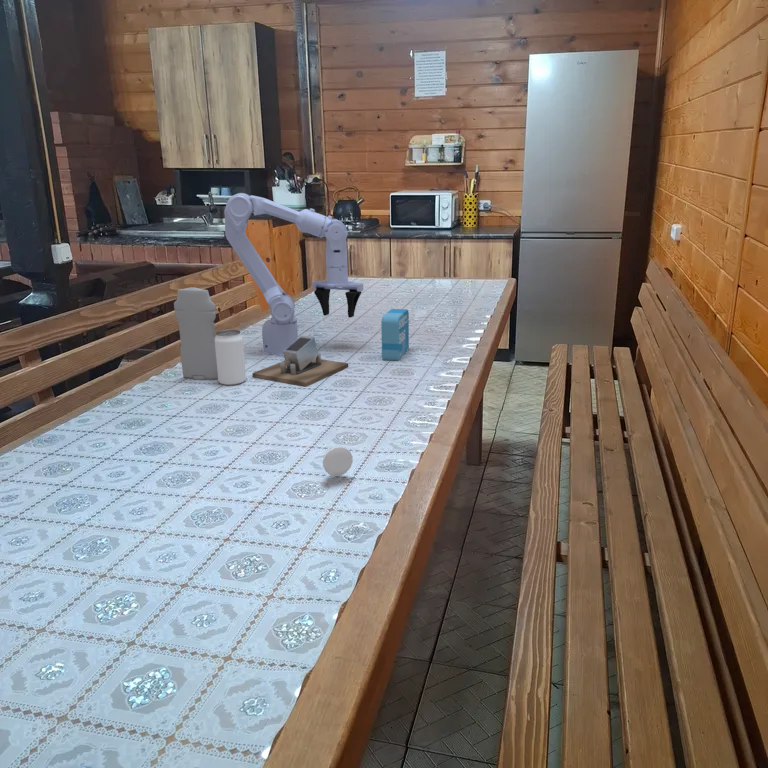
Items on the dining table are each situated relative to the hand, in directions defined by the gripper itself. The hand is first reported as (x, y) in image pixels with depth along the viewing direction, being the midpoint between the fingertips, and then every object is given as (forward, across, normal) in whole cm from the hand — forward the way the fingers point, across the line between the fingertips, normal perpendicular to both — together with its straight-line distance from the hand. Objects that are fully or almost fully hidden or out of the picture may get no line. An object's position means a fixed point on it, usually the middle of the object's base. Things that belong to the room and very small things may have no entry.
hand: (338, 315), depth 185 cm
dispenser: (+10, -19, -36) cm, 42 cm away
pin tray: (+9, +1, -23) cm, 25 cm away
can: (+10, -10, -36) cm, 39 cm away
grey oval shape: (+10, +36, -72) cm, 81 cm away
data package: (+10, +18, -2) cm, 20 cm away
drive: (+7, +1, -22) cm, 24 cm away
